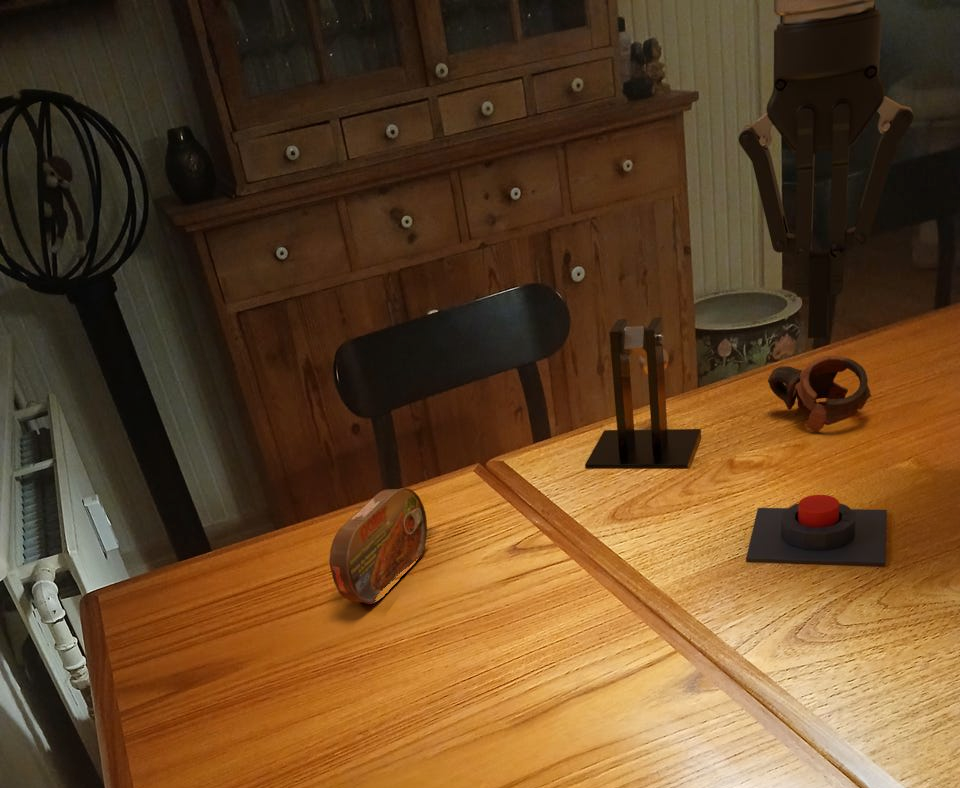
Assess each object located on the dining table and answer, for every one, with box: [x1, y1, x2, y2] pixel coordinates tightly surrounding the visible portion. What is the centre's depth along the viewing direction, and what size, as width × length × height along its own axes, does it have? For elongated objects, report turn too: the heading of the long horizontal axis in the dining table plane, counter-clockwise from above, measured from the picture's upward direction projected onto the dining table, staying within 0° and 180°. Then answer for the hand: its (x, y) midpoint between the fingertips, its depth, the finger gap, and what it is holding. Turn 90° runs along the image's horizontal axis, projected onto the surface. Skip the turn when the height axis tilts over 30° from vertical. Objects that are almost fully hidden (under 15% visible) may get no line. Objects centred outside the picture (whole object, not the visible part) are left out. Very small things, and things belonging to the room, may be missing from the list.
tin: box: [329, 487, 428, 605], centre depth 100 cm, size 15×3×8 cm, turn 154°
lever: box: [624, 325, 669, 376], centre depth 115 cm, size 13×4×4 cm
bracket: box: [584, 316, 702, 470], centre depth 114 cm, size 10×12×16 cm
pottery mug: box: [767, 355, 872, 432], centre depth 118 cm, size 12×10×8 cm
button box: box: [745, 502, 888, 568], centre depth 93 cm, size 12×10×4 cm
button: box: [798, 494, 841, 527], centre depth 91 cm, size 4×4×2 cm
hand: (817, 332), depth 85 cm, fingers closed
